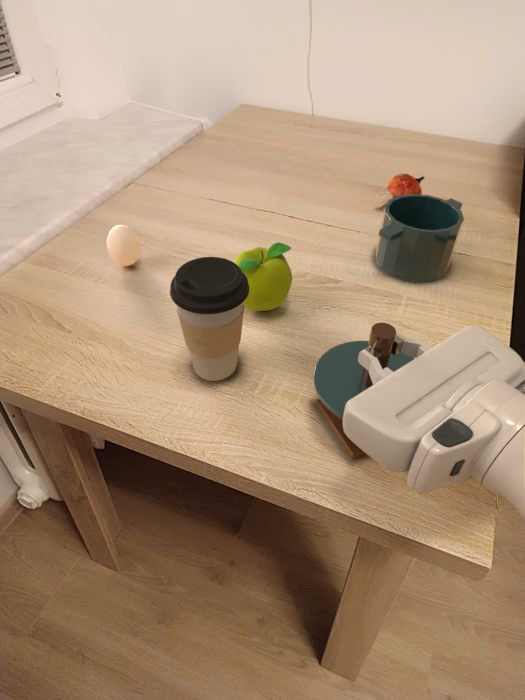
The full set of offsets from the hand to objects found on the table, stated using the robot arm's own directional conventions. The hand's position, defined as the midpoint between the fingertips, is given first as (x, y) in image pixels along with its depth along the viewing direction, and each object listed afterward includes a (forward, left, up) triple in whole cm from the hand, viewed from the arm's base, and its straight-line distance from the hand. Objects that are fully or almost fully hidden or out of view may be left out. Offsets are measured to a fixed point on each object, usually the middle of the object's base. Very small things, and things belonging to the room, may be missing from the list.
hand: (375, 345), depth 54 cm
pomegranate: (-35, -43, -12) cm, 57 cm away
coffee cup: (+14, -15, -12) cm, 24 cm away
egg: (+20, -44, -12) cm, 50 cm away
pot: (-26, -26, -12) cm, 39 cm away
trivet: (0, +1, -12) cm, 12 cm away
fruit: (+3, -25, -12) cm, 28 cm away
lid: (0, 0, -5) cm, 6 cm away
